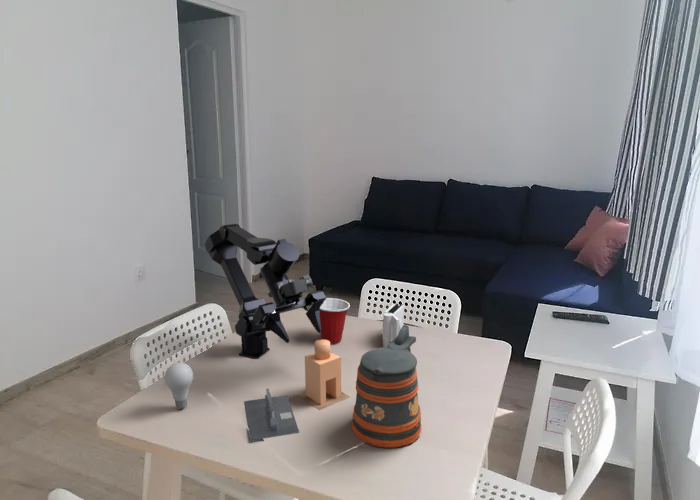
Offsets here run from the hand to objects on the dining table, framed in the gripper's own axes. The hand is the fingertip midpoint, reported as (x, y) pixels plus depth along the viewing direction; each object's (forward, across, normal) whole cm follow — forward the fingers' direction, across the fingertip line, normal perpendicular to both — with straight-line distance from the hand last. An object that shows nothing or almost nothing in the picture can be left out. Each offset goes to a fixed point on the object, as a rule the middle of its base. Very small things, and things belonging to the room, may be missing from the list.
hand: (304, 337), depth 127 cm
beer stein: (+27, +4, -8) cm, 29 cm away
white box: (+6, +35, +13) cm, 38 cm away
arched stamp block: (+14, 0, +4) cm, 14 cm away
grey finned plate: (+14, -14, +4) cm, 21 cm away
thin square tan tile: (+14, 0, +4) cm, 15 cm away
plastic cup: (-4, +22, +22) cm, 32 cm away
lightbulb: (+2, -28, +16) cm, 32 cm away
